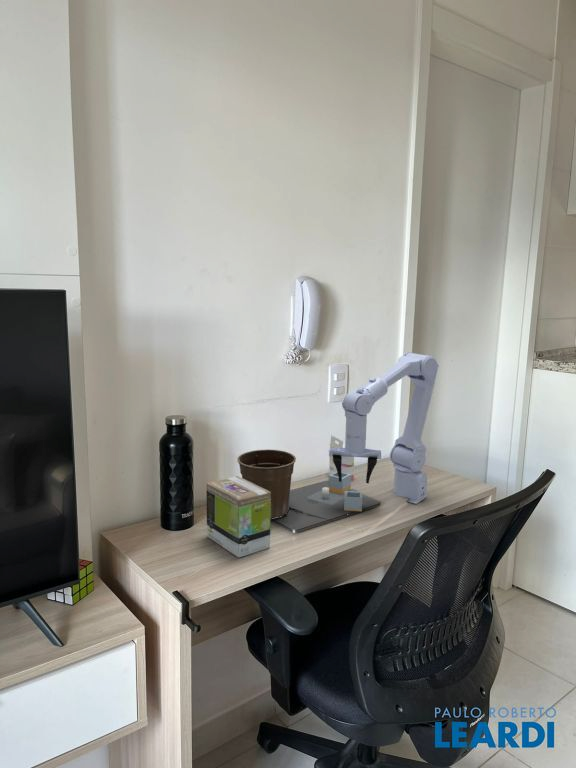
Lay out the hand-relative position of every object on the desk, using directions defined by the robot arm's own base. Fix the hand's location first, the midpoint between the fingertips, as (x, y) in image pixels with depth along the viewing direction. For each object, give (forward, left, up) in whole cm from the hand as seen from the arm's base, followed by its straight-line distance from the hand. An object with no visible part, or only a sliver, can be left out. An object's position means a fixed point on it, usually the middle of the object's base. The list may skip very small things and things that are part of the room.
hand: (353, 481), depth 164 cm
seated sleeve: (+10, -9, -8) cm, 16 cm away
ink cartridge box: (+16, -20, -9) cm, 27 cm away
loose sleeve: (0, 0, -9) cm, 9 cm away
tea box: (+13, +35, -9) cm, 38 cm away
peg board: (+10, -5, -9) cm, 14 cm away
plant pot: (+19, +16, -9) cm, 26 cm away
